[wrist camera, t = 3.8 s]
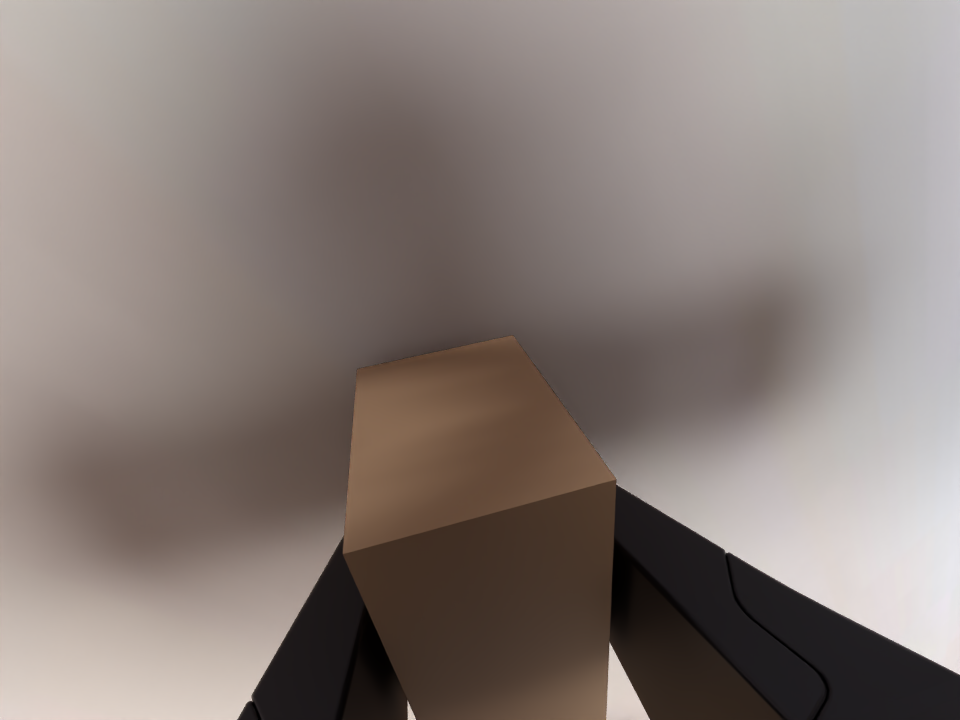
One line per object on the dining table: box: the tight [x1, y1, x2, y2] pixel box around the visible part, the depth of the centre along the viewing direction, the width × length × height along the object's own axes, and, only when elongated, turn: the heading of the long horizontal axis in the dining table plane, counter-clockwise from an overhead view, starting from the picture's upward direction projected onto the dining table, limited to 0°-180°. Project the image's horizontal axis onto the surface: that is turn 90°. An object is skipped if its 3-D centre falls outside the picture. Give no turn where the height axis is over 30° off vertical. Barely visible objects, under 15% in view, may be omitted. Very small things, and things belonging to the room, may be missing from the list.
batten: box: [343, 335, 616, 720], centre depth 11 cm, size 3×18×4 cm, turn 7°
